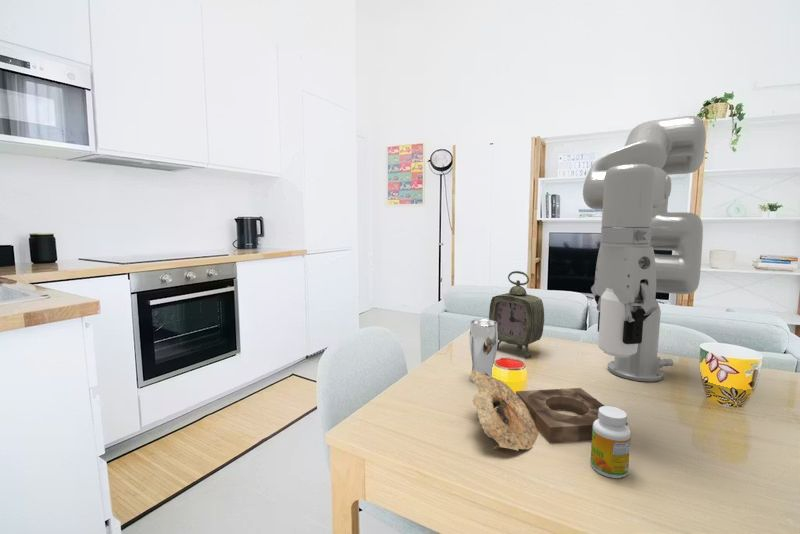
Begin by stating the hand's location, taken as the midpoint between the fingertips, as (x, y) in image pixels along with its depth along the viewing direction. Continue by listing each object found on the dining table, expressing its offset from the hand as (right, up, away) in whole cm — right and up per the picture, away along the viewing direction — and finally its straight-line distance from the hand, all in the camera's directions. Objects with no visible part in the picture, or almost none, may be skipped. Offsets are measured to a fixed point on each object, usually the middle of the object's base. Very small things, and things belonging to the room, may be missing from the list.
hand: (618, 336), depth 69 cm
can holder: (-6, -18, +8) cm, 21 cm away
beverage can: (0, -3, +1) cm, 3 cm away
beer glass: (-19, -16, +28) cm, 37 cm away
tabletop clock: (-3, -14, +50) cm, 52 cm away
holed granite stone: (-20, -19, +5) cm, 28 cm away
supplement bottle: (-6, -20, -7) cm, 22 cm away
